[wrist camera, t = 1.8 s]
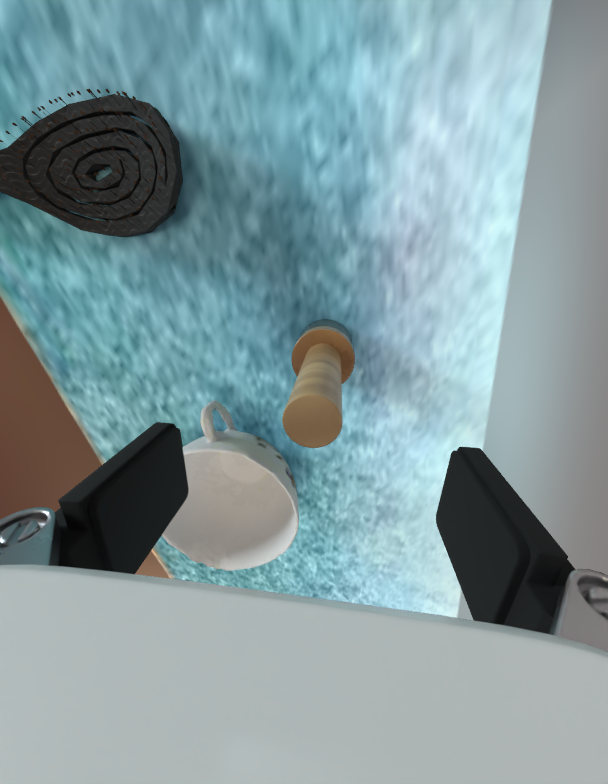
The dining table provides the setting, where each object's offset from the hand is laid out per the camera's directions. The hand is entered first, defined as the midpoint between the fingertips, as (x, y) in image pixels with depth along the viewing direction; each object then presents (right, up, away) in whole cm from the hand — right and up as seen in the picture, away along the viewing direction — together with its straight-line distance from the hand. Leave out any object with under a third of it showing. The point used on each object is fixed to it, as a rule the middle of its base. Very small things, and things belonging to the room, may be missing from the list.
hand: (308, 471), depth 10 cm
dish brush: (+2, +7, +15) cm, 17 cm away
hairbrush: (-20, +19, +13) cm, 31 cm away
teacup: (-6, -3, +21) cm, 22 cm away
